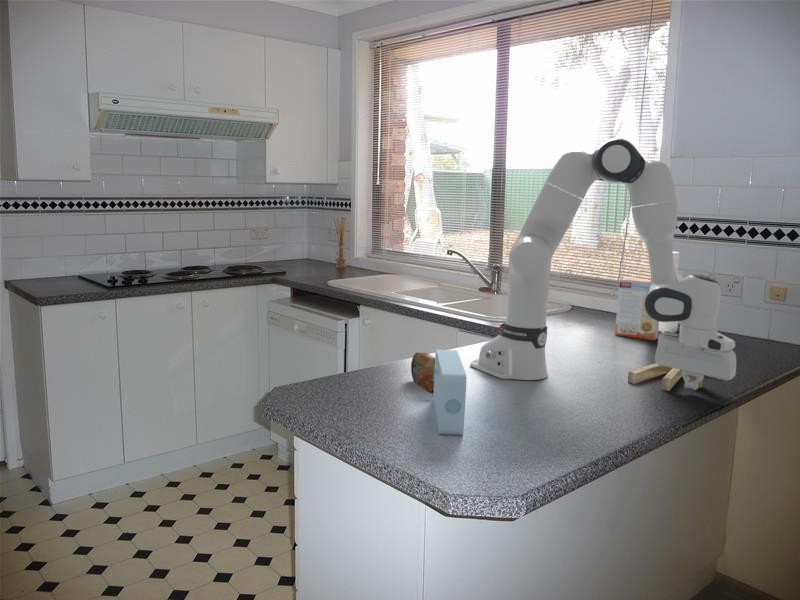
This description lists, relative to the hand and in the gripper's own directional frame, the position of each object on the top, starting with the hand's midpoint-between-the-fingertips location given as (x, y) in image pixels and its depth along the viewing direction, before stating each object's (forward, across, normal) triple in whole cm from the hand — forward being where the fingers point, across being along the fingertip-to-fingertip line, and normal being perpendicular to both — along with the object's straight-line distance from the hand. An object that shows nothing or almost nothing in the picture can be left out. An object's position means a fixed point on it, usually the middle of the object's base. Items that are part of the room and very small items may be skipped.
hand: (690, 388), depth 181 cm
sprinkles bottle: (+2, -3, +8) cm, 9 cm away
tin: (+2, -45, -53) cm, 70 cm away
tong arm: (+2, -9, +9) cm, 13 cm away
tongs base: (+2, -14, +10) cm, 17 cm away
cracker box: (+2, -44, +53) cm, 69 cm away
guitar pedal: (+2, -26, -66) cm, 71 cm away
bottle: (+2, -43, +74) cm, 86 cm away
